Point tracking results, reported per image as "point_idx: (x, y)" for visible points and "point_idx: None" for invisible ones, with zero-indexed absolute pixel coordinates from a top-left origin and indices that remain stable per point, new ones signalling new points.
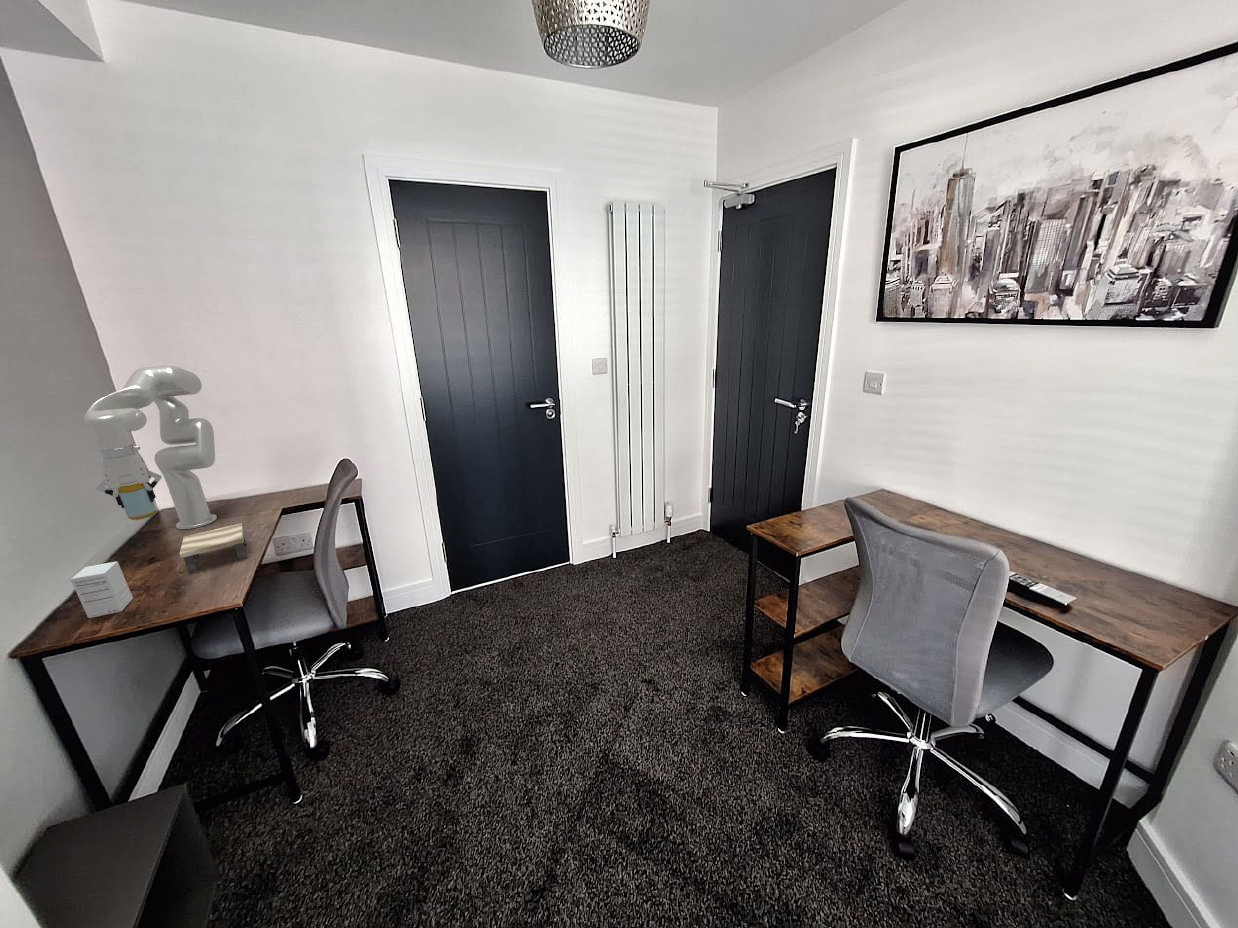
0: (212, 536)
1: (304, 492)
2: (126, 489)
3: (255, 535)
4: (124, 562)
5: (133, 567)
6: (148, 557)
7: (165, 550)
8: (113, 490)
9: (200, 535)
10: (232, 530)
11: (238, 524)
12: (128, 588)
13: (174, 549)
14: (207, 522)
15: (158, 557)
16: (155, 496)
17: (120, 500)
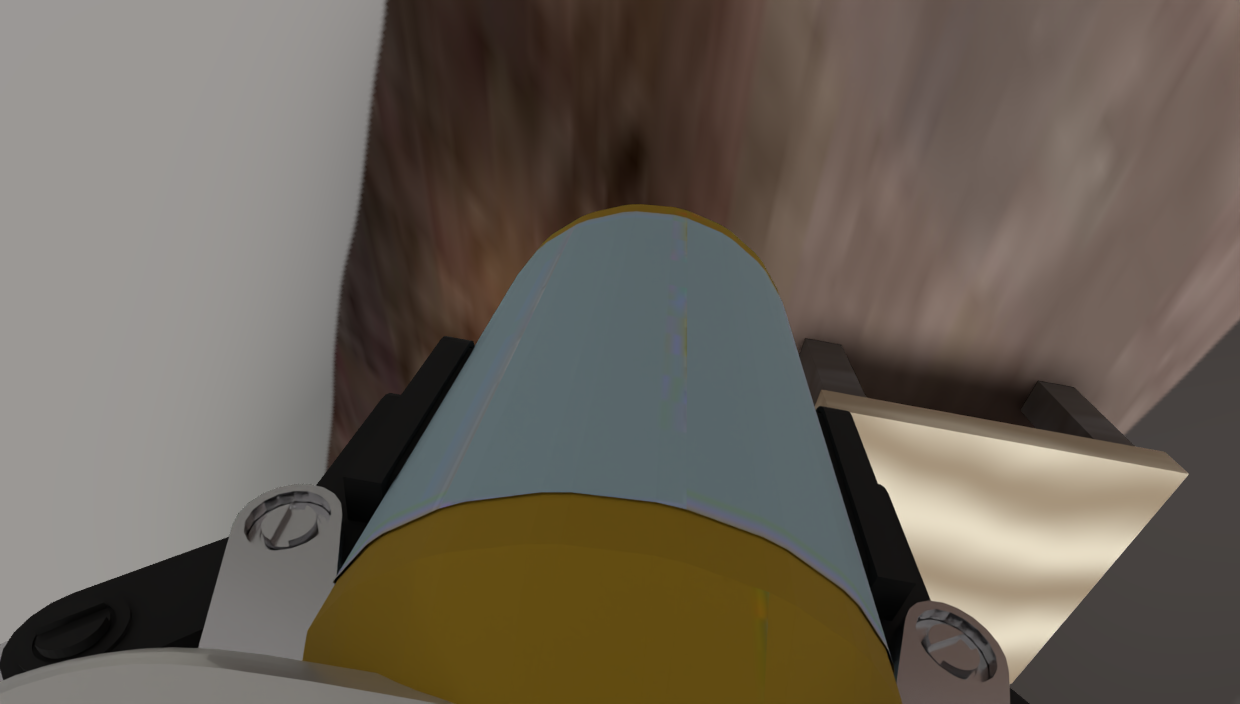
0: (939, 548)
1: None
2: None
3: (1186, 311)
4: (481, 66)
5: (534, 226)
6: (610, 110)
7: (713, 55)
8: (200, 630)
9: (904, 478)
10: (1060, 551)
11: (1156, 483)
12: None
13: (762, 96)
14: None
15: (659, 174)
16: (881, 489)
17: None
